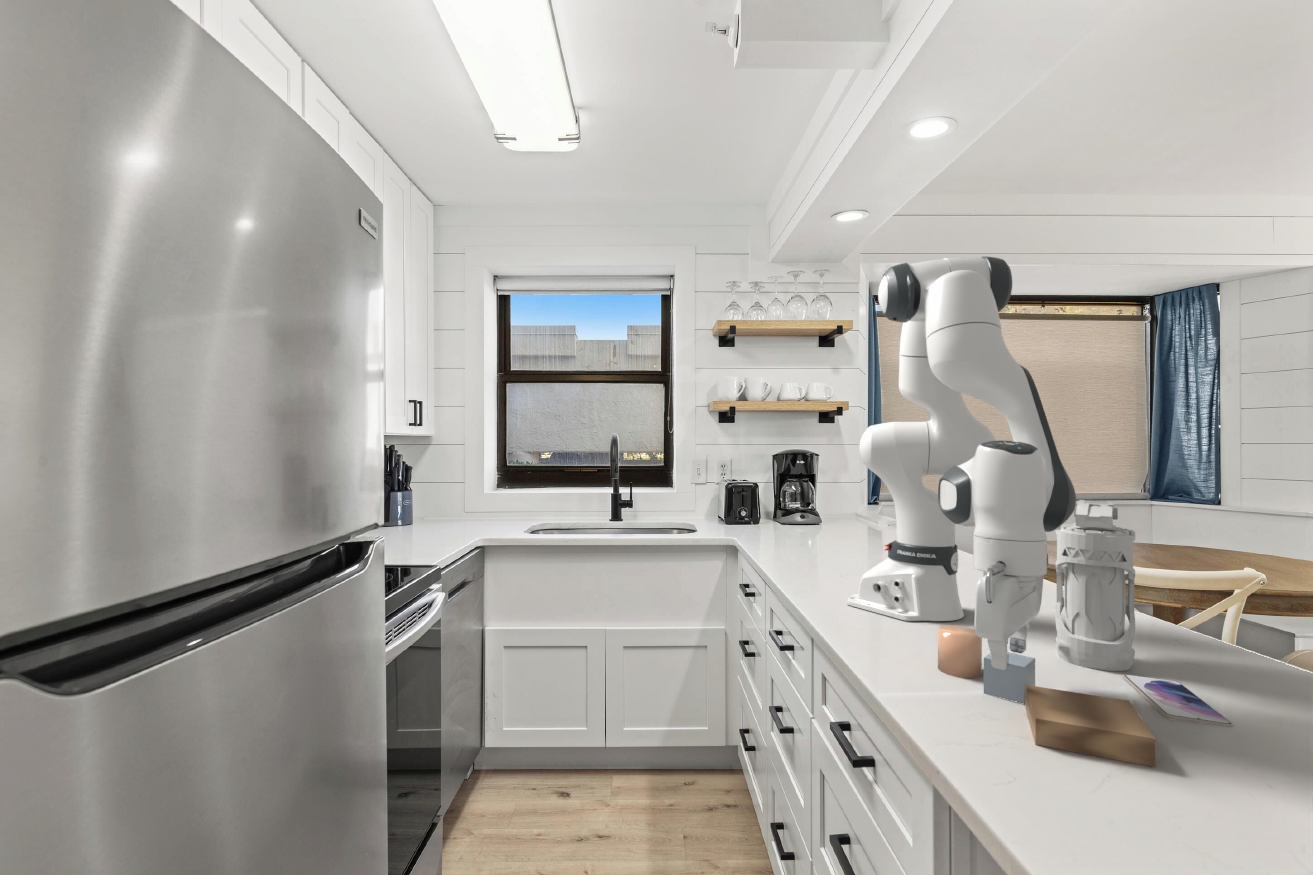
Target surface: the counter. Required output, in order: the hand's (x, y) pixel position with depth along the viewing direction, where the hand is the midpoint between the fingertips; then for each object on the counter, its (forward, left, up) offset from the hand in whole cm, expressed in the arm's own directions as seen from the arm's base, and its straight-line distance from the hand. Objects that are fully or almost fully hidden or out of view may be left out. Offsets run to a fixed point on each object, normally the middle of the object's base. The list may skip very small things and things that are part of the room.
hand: (1009, 659), depth 85 cm
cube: (0, +1, -5) cm, 5 cm away
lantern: (+5, +27, -5) cm, 28 cm away
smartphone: (+16, +15, -6) cm, 22 cm away
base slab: (+10, -6, -5) cm, 13 cm away
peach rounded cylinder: (-8, +5, -5) cm, 11 cm away
